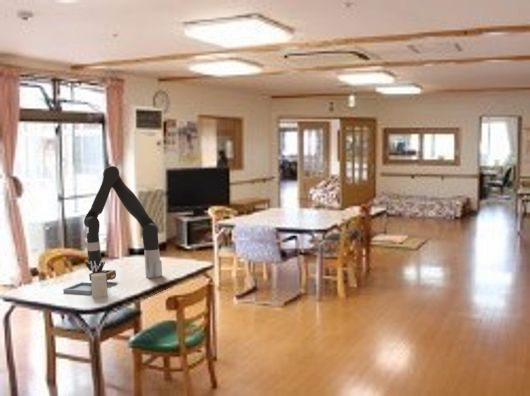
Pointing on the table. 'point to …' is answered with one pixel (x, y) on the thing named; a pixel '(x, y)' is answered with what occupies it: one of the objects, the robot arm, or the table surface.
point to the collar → (107, 274)
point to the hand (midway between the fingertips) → (96, 277)
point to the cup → (99, 285)
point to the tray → (80, 288)
